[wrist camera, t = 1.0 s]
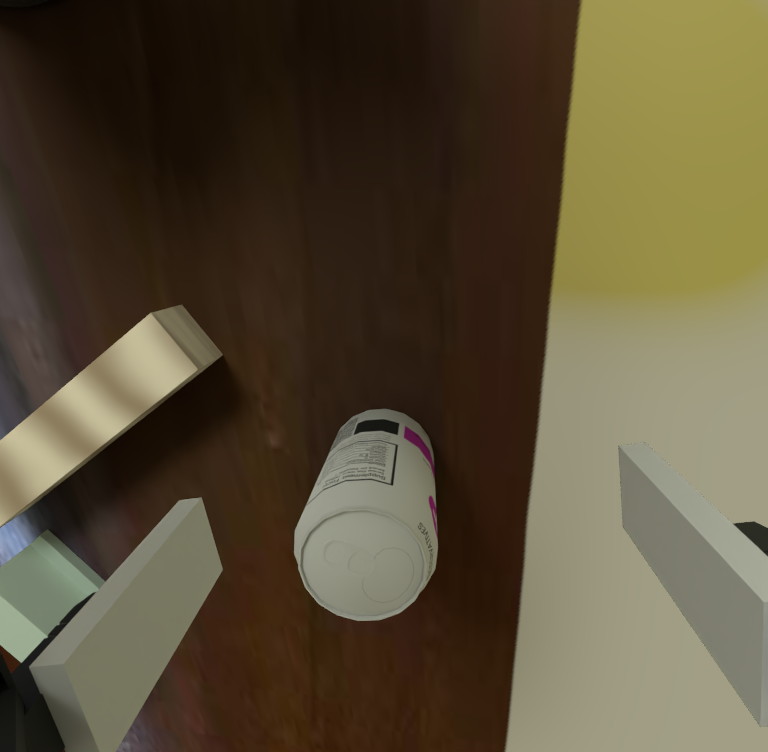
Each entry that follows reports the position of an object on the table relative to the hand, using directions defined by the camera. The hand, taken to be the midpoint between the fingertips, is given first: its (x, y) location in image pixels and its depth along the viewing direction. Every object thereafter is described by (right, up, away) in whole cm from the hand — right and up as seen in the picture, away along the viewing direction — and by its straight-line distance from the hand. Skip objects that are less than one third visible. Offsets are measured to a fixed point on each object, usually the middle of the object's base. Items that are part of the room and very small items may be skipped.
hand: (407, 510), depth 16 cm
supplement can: (-1, -2, +26) cm, 26 cm away
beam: (-25, +1, +27) cm, 37 cm away
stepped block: (-30, -16, +32) cm, 47 cm away
